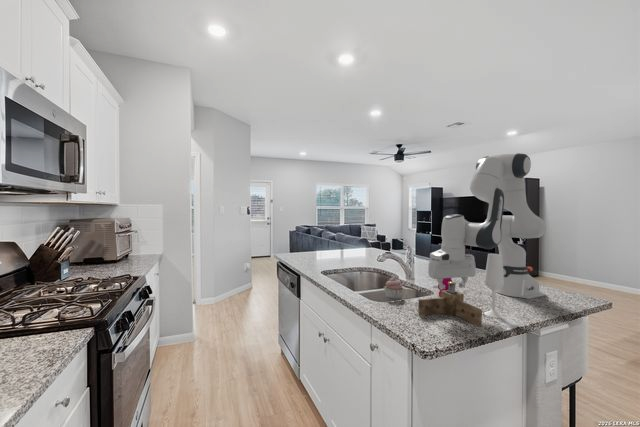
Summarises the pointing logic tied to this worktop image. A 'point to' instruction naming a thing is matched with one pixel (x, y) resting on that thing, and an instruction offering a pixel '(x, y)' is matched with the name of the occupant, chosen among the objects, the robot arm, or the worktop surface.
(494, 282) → the champagne flute
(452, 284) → the hinge pin
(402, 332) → the worktop surface
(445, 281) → the pepper mill
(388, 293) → the cupcake
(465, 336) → the worktop surface
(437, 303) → the hinge
